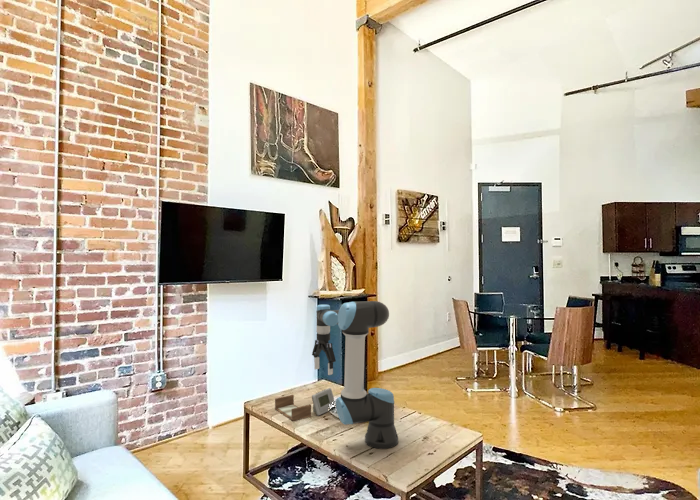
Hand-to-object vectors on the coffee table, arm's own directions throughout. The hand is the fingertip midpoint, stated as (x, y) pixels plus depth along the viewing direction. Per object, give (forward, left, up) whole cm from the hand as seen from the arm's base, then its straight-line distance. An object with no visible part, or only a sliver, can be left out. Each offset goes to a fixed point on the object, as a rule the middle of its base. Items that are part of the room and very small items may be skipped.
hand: (323, 371), depth 224 cm
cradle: (+8, +15, -21) cm, 27 cm away
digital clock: (0, 0, -22) cm, 22 cm away
